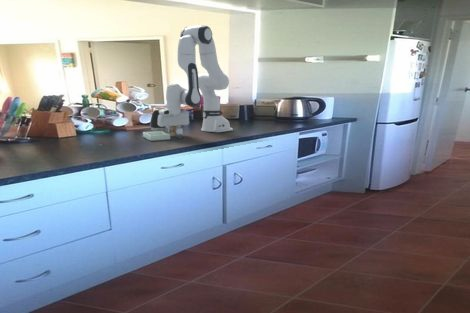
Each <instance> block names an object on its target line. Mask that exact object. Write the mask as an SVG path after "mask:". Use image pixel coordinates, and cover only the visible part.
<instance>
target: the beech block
mask: <svg viewBox="0 0 470 313" xmlns="http://www.w3.org/2000/svg"><path fill="white" fill-rule="evenodd" d="M176 128H178V126H170V128H169V129H170V130H171V133H169V134H170V137H176Z"/></svg>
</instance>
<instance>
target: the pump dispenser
mask: <svg viewBox="0 0 470 313" xmlns="http://www.w3.org/2000/svg"><path fill="white" fill-rule="evenodd" d="M159 110H160V109H159V108H157V109H154V111H153V112H152V113H151V117H150V120H149V121H150V122H149V127H150V130H151V132H154V131H163V132H165V130H166V126H163V127H160V126H158V115H159Z"/></svg>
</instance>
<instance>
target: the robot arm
mask: <svg viewBox="0 0 470 313" xmlns="http://www.w3.org/2000/svg"><path fill="white" fill-rule="evenodd" d="M178 40H179V41H178V45H177V64H178V66H179V68H180V69H182V70H183V71H184V73H186V75H187V86H188V88H187V89H186V88H184V87H183V86H181V85H180V84H178V83H175V84H170V85H168V86H167V87H166V91H165V92H166V94H165V98H166V99H165V100H166V106H165V108H162V109H159V115H158V126H160V127H163V126H166V127H165V129H167V133H168V134H170V133H171V130H170V126H178V128H182V126H189V124H190V118H189V117H190V112H189V111H188V110H182V107H181V105H184V106H187V107H190V108H196V107H198V106H199V105H200V104H201V101H202V98H203V110H202V118H203V120H202V126H201V129H200V130H201V131H203V132H210V133H211V132H212V133H222V132H231V131H234V129H233V127H231V125H230V121H229V120H228V119H227V118H225V117H224V114H225V111H224V110H220V108H221V106H220V105H221V99H220V97H219V96H218V95H217V94H216V92H215V91H223V90H226V89H227V88H228V87H229V84H230V79H229V77H228V76H227V74H226V73H224V71H223V70H222V69H221V67H220V65H219V62H218V57H217V48H216V44H215V41H214V38H213V32H212V30H211V27H210V26H208V25H200V24H199V25H197V24H196V25H192V26H184V27H182V29H181V31H180V38H179V39H178ZM196 46H198V52H199V60H200V65H201V67H203V69H205V71H206V72H204V73H202V72H201V73H199V72H198V66H197V62H196V54H197V53H196ZM201 94H202V95H201Z"/></svg>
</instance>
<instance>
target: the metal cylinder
mask: <svg viewBox="0 0 470 313" xmlns="http://www.w3.org/2000/svg"><path fill="white" fill-rule="evenodd" d="M175 138H176V139H179V140H180V139H184V128H182V127H181V128H176V136H175Z"/></svg>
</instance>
